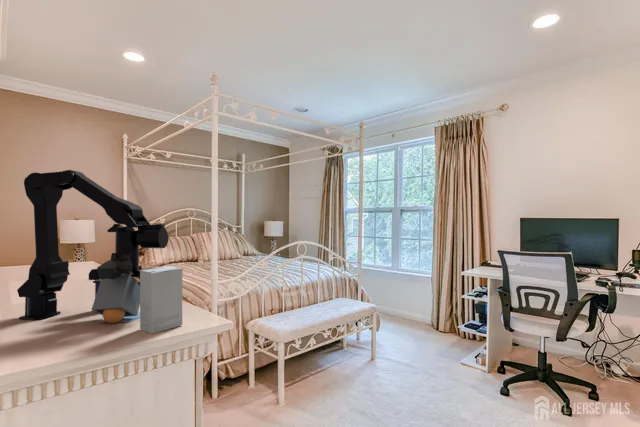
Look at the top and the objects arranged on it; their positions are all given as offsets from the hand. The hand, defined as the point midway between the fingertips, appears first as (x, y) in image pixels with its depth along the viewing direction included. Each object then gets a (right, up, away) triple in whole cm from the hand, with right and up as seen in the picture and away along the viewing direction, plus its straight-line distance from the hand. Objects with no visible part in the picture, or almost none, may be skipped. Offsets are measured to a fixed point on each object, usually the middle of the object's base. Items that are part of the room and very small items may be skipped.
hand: (126, 305), depth 91 cm
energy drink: (-10, -4, +7) cm, 13 cm away
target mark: (0, -3, 0) cm, 3 cm away
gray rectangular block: (0, -1, -5) cm, 5 cm away
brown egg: (0, -1, -5) cm, 5 cm away
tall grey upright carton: (+14, -3, -9) cm, 17 cm away
